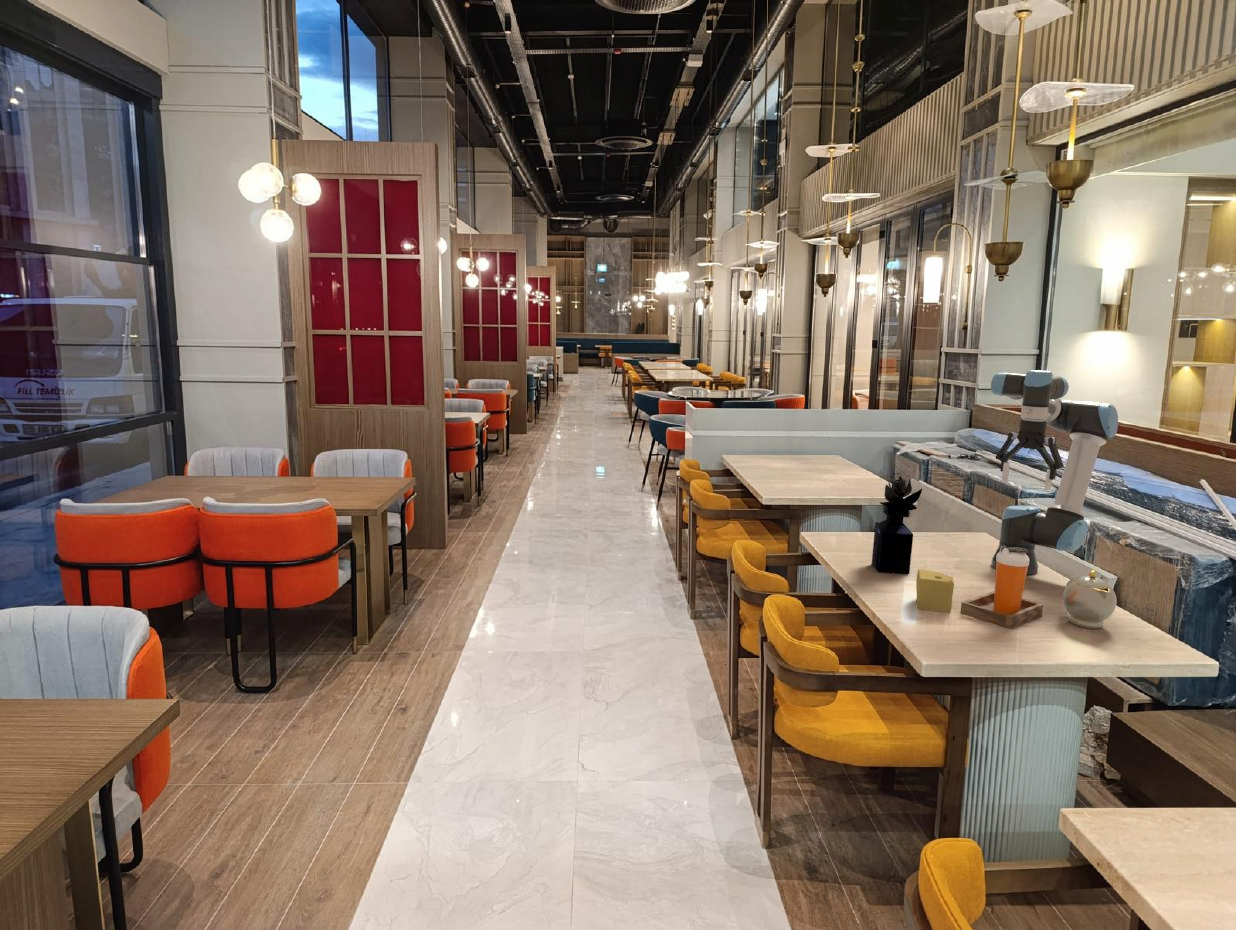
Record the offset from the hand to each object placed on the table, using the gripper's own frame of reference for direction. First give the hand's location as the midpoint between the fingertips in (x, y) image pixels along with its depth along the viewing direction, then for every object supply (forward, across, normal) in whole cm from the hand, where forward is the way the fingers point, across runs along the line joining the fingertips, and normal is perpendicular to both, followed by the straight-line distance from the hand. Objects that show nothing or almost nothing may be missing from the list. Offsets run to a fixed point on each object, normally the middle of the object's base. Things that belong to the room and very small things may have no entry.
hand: (1025, 485), depth 255 cm
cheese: (+36, -8, -34) cm, 50 cm away
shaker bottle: (+35, +9, -23) cm, 43 cm away
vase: (+36, -38, -11) cm, 54 cm away
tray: (+36, +8, -23) cm, 43 cm away
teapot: (+36, +25, -8) cm, 45 cm away
